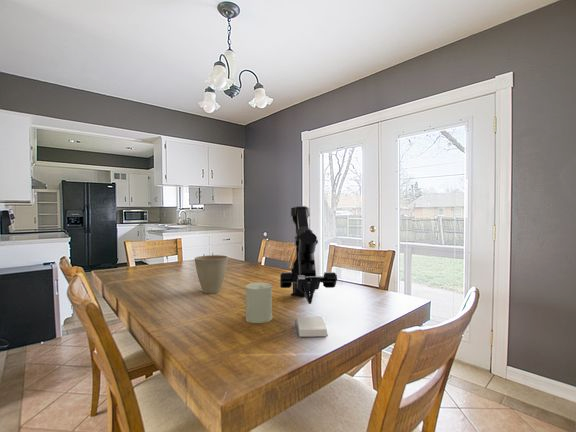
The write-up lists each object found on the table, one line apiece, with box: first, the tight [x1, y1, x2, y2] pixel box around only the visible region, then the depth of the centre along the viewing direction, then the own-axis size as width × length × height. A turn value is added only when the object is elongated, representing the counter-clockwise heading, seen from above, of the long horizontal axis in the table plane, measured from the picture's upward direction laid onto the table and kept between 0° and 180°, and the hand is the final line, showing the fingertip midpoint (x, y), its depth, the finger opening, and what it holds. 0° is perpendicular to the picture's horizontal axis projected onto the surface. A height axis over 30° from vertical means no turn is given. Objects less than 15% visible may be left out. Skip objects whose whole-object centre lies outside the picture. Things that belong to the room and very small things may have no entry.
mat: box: [294, 319, 329, 338], centre depth 91 cm, size 13×9×1 cm
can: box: [245, 282, 273, 324], centre depth 100 cm, size 9×9×12 cm
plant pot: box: [194, 254, 229, 295], centre depth 134 cm, size 15×15×16 cm
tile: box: [296, 316, 328, 338], centre depth 89 cm, size 2×8×10 cm
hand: (310, 303), depth 92 cm, fingers closed
